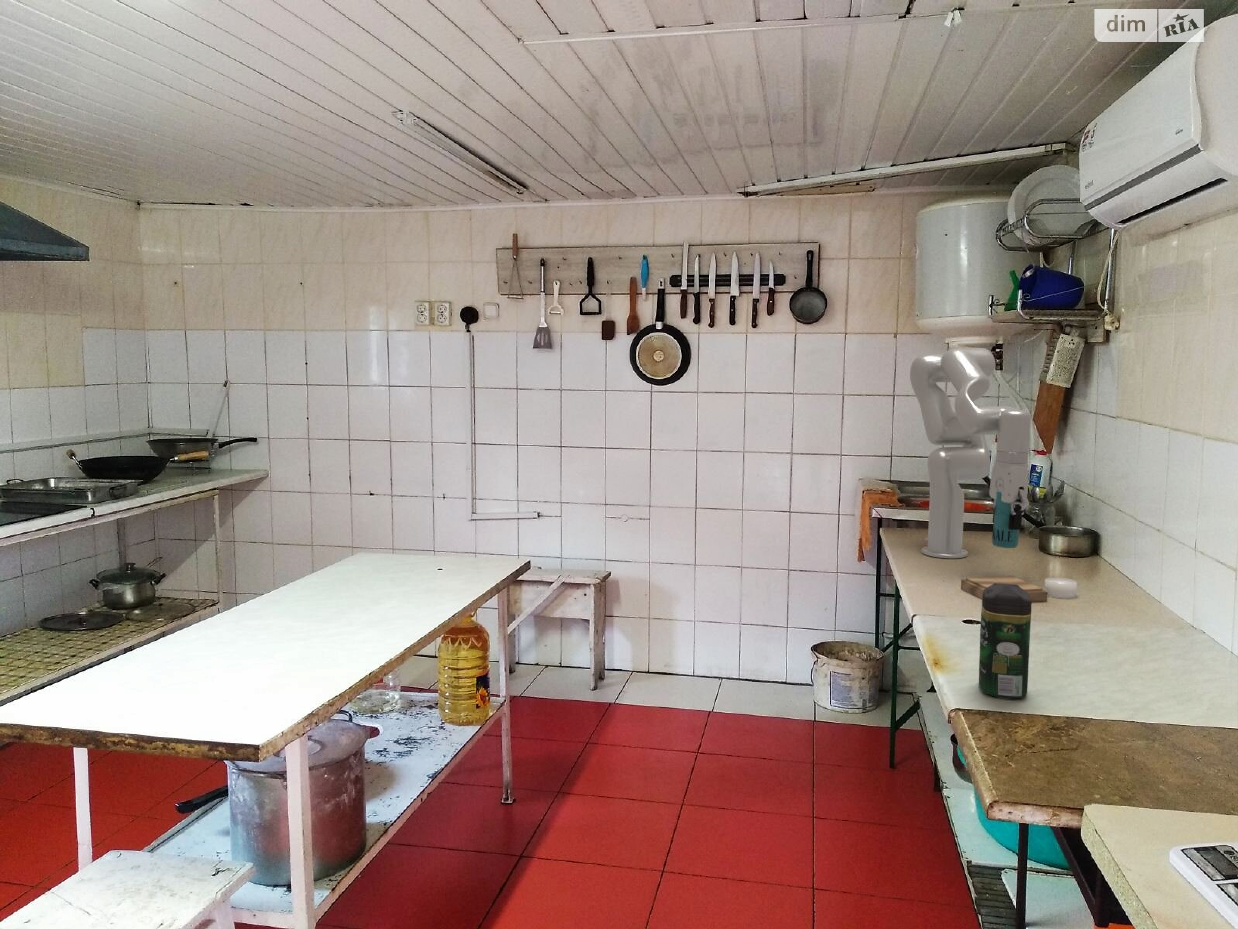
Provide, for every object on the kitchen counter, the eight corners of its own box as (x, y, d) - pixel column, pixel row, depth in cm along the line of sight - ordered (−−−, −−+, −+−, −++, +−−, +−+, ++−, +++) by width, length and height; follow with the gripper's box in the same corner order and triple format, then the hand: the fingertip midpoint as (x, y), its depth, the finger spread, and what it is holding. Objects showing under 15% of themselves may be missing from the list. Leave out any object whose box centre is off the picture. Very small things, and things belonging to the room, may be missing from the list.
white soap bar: (1038, 592, 219) (1039, 578, 219) (1065, 591, 220) (1065, 577, 219) (1055, 599, 212) (1056, 584, 212) (1082, 598, 213) (1083, 583, 213)
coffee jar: (976, 678, 160) (981, 578, 158) (1024, 683, 158) (1029, 582, 155) (978, 697, 151) (984, 591, 149) (1029, 703, 149) (1035, 596, 146)
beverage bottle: (1013, 548, 233) (1019, 473, 230) (1021, 554, 227) (1028, 477, 223) (987, 547, 234) (993, 472, 231) (995, 553, 227) (1001, 477, 224)
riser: (960, 588, 222) (961, 577, 221) (1012, 586, 224) (1012, 575, 223) (992, 604, 208) (993, 591, 208) (1047, 601, 210) (1047, 589, 210)
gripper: (979, 453, 234) (974, 519, 237) (1018, 463, 217) (1012, 534, 220) (1005, 452, 235) (1000, 518, 238) (1046, 462, 218) (1040, 533, 221)
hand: (1006, 525), depth 229 cm, fingers closed on beverage bottle, 6 cm apart
